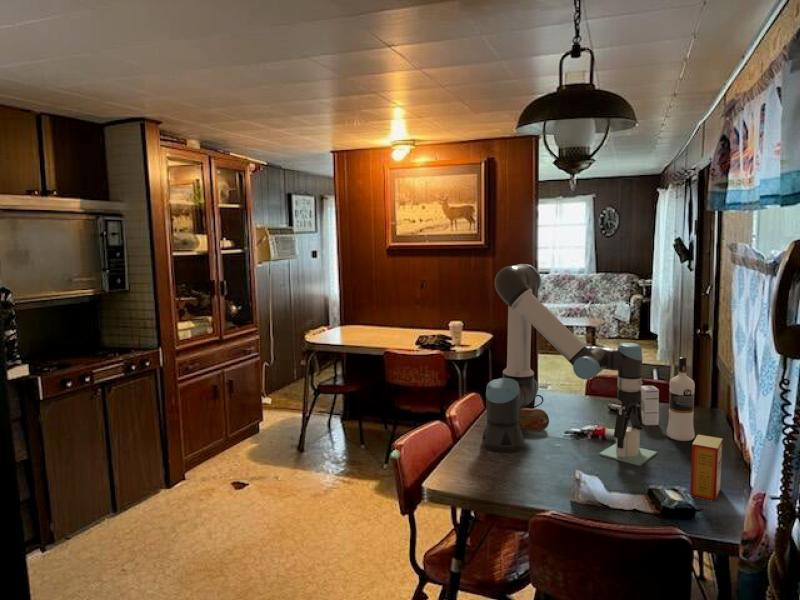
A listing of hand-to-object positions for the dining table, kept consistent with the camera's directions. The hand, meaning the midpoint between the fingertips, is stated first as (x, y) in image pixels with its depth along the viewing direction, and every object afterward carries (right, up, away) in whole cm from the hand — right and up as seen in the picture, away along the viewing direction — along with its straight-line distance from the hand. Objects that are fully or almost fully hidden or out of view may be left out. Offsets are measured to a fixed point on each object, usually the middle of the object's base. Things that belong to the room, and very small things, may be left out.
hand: (628, 452), depth 200 cm
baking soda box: (+11, -4, -30) cm, 32 cm away
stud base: (0, -1, 0) cm, 1 cm away
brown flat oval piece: (-28, +1, +27) cm, 39 cm away
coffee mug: (-24, +4, +46) cm, 52 cm away
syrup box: (+20, +3, +31) cm, 37 cm away
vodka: (+25, +1, +15) cm, 29 cm away
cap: (0, 0, 0) cm, 0 cm away
